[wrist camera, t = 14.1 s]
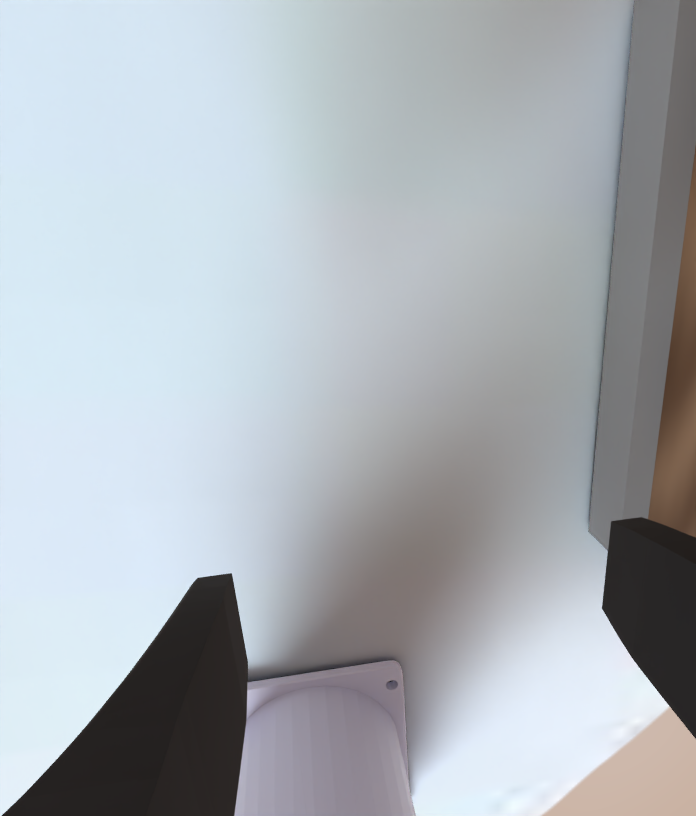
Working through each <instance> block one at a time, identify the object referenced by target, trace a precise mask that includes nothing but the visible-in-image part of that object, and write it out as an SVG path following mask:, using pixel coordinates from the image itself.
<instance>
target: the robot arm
mask: <svg viewBox="0 0 696 816" xmlns="http://www.w3.org/2000/svg"><path fill="white" fill-rule="evenodd" d="M602 609H603V611H604V613H605V614H606V616H607V618H608V619H609V621H610V623H611V625H612V626H613V628H614V630H615V631H616V633H617V635H618V636H619V638H620V640H621V641H622V643H623V644H624V646H625V647H626V649H627V651H628V652H629V654H630V655H631V657H632V658H633V660H634V661H635V662H636V664H637V665H638V666H639V668H640V669H641V670H642V672H643V673H644V674H645V675H646V677H647V678H648V679H649V680H650V682H651V683H652V684H653V686H654V687H655V688H656V689H657V691H658V692H659V693H660V695H661V696H662V697H663V698H664V700H665V701H666V702H667V703H668V705H669V706H670V707H671V708H672V710H673V711H674V712H675V713H676V714H677V716H678V717H679V718H680V719H681V721H682V722H683V723H684V724H685V726H686V727H687V728H688V730H689V731H690V732H691V733H692V735H693V736H694V737H695V738H696V538H695V537H693V536H691V535H688V534H686V533H683V532H681V531H678V530H676V529H673V528H671V527H668V526H666V525H663V524H660V523H658V522H655V521H652V520H649V519H646V518H643V517H638V518H631V519H623V520H616V521H611V527H610V537H609V546H608V556H607V566H606V576H605V585H604V595H603V605H602ZM247 679H248V661H247V655H246V650H245V644H244V639H243V633H242V628H241V622H240V616H239V611H238V605H237V600H236V594H235V589H234V583H233V578H232V573H230V574H223V575H216V576H208V577H201V578H197V579H196V580H195V582H194V583H193V584H192V585H191V587H190V588H189V590H188V591H187V593H186V594H185V596H184V597H183V599H182V600H181V602H180V603H179V605H178V606H177V607H176V609H175V610H174V612H173V613H172V615H171V616H170V618H169V619H168V621H167V622H166V623H165V625H164V626H163V628H162V629H161V631H160V632H159V633H158V635H157V636H156V638H155V639H154V640H153V642H152V643H151V644H150V646H149V647H148V649H147V650H146V651H145V653H144V654H143V655H142V657H141V658H140V659H139V661H138V662H137V663H136V665H135V666H134V667H133V669H132V670H131V671H130V673H129V674H128V675H127V677H126V678H125V679H124V681H123V682H122V683H121V684H120V685H119V687H118V688H117V689H116V690H115V692H114V693H113V694H112V695H111V697H110V698H109V699H108V700H107V701H106V703H105V704H104V705H103V706H102V708H101V709H100V710H99V711H98V713H97V714H96V715H95V716H94V717H93V719H92V720H91V721H90V722H89V724H88V725H87V726H86V727H85V728H84V729H83V730H82V732H81V733H80V734H79V735H78V736H77V737H76V739H75V740H74V741H73V742H72V743H71V744H70V745H69V746H68V748H67V749H66V750H65V751H64V752H63V753H62V754H61V755H60V756H59V758H58V759H57V760H56V761H55V762H54V763H53V764H52V765H51V766H50V767H49V768H48V769H47V770H46V772H45V773H44V774H43V775H42V776H41V777H40V778H39V779H38V780H37V781H36V782H35V783H34V784H33V785H32V786H31V787H30V789H29V790H28V791H27V792H26V793H25V794H24V795H23V796H22V797H21V798H20V799H19V800H18V801H17V802H16V803H15V804H13V805H12V806H11V807H10V808H9V809H8V810H7V811H6V812H5V813H4V814H3V815H2V816H416V815H415V810H414V806H413V802H412V797H411V793H410V788H409V777H408V759H407V740H406V722H405V704H404V686H403V672H402V668H401V665H400V664H399V663H398V662H397V661H394V660H388V661H382V662H375V663H369V664H362V665H356V666H350V667H343V668H337V669H330V670H324V671H317V672H311V673H304V674H298V675H292V676H285V677H279V678H272V679H266V680H259V681H253V682H247ZM391 680H394V681H393V682H388V681H391Z"/></svg>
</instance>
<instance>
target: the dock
mask: <svg viewBox="0 0 696 816" xmlns="http://www.w3.org/2000/svg"><path fill="white" fill-rule="evenodd" d="M695 147H696V0H636V1H634V11H633V23H632V34H631V46H630V58H629V69H628V81H627V92H626V104H625V115H624V127H623V138H622V150H621V161H620V173H619V184H618V196H617V208H616V219H615V231H614V242H613V254H612V265H611V277H610V288H609V300H608V311H607V323H606V334H605V346H604V357H603V369H602V381H601V392H600V404H599V415H598V427H597V438H596V450H595V461H594V473H593V484H592V496H591V507H590V519H589V531H588V532H589V533H590V534H591V535H592V536H593V537H594V538H596V539H597V540H598V541H599V542H600V543H601V544H602V545H603V546H604V547H605V548H606V549H607V550H608V546H609V537H610V527H611V521H616V520H623V519H631V518H638V517H643V518H646V519H648V515H649V507H650V499H651V491H652V483H653V476H654V468H655V460H656V452H657V444H658V436H659V429H660V421H661V413H662V405H663V397H664V389H665V382H666V374H667V366H668V358H669V350H670V342H671V335H672V327H673V319H674V311H675V303H676V295H677V288H678V280H679V272H680V264H681V256H682V248H683V241H684V233H685V225H686V217H687V209H688V201H689V194H690V186H691V178H692V170H693V162H694V154H695Z"/></svg>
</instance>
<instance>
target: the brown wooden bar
mask: <svg viewBox="0 0 696 816" xmlns="http://www.w3.org/2000/svg"><path fill="white" fill-rule="evenodd" d="M648 519H649V520H652V521H655V522H658V523H660V524H663V525H666V526H668V527H671V528H673V529H676V530H678V531H681V532H683V533H686V534H688V535H691V536H693V537H695V538H696V147H695V154H694V162H693V170H692V178H691V186H690V194H689V201H688V209H687V217H686V225H685V233H684V241H683V248H682V256H681V264H680V272H679V280H678V288H677V295H676V303H675V311H674V319H673V327H672V335H671V342H670V350H669V358H668V366H667V374H666V382H665V389H664V397H663V405H662V413H661V421H660V429H659V436H658V444H657V452H656V460H655V468H654V476H653V483H652V491H651V499H650V507H649V515H648Z"/></svg>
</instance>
